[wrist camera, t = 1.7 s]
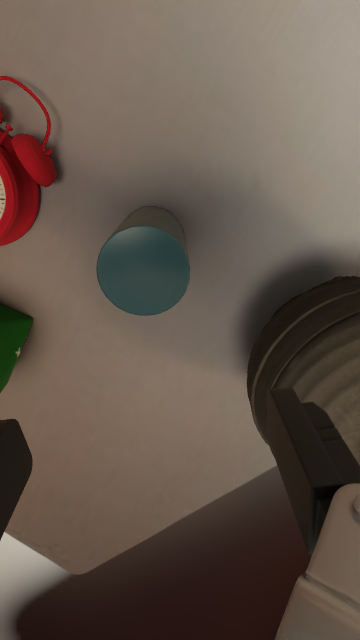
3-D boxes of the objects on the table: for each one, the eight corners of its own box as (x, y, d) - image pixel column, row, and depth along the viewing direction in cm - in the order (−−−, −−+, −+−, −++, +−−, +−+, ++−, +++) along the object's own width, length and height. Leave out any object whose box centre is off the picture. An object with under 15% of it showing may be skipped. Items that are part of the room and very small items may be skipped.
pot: (298, 435, 42) (386, 626, 24) (200, 336, 38) (211, 470, 19) (430, 344, 38) (669, 489, 19) (335, 221, 34) (519, 251, 15)
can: (108, 251, 33) (80, 288, 23) (139, 192, 31) (123, 206, 21) (164, 282, 35) (160, 330, 25) (197, 228, 33) (207, 257, 23)
